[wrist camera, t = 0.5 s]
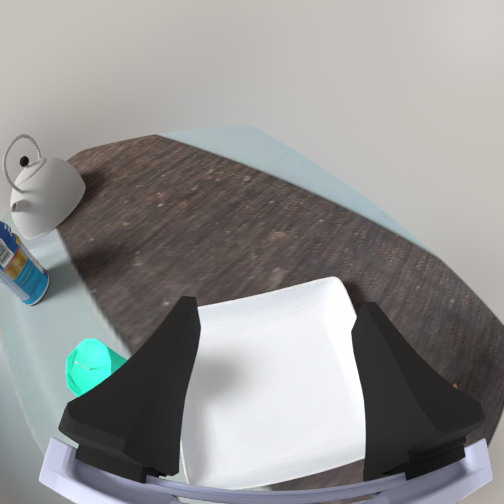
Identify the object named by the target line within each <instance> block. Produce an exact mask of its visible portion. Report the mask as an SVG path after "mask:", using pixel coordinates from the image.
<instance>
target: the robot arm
mask: <svg viewBox="0 0 504 504" xmlns="http://www.w3.org/2000/svg"><path fill="white" fill-rule="evenodd" d="M200 333H201V324H200V318H199V313H198V307H197V301H196V297H189V296H182V297H180V299H179V300H178V301H177V303H176V304H175V306H174V307H173V308H172V310H171V311H170V312H169V314H168V315H167V316H166V318H165V319H164V320H163V322H162V323H161V324H160V325H159V327H158V328H157V329H156V330H155V332H154V333H153V334H152V335H151V336H150V337H149V338H148V340H147V341H146V342H145V343H144V344H143V345H142V346H141V347H140V348H139V350H138V351H137V352H136V353H135V354H134V355H133V356H132V357H131V358H130V359H128V360H127V361H126V362H125V363H124V364H123V365H122V366H121V367H120V368H118V369H117V370H116V371H115V372H114V373H113V374H111V375H110V376H109V377H108V378H106V379H105V380H103V381H102V382H101V383H99V384H98V385H96V386H95V387H94V388H92V389H91V390H89V391H88V392H86V393H84V394H82V395H81V396H79V397H77V398H76V399H74V400H72V401H70V402H68V404H67V406H66V408H65V410H64V413H63V416H62V419H61V421H60V424H59V427H58V429H59V431H60V432H61V433H63V434H64V435H66V436H67V437H69V438H70V439H72V440H73V441H75V442H76V443H78V444H79V446H78V449H76V448H74V447H73V446H70V445H68V444H66V443H64V442H62V441H60V440H58V439H56V438H54V437H51V439H50V442H49V446H48V449H47V452H46V455H45V459H44V462H43V466H42V469H41V473H40V477H39V481H40V482H41V483H43V484H44V485H46V486H47V487H49V488H51V489H52V490H54V491H56V492H57V493H59V494H61V495H62V496H64V497H66V498H68V499H69V500H71V501H73V502H75V503H76V504H189V503H183V502H181V501H180V500H179V498H178V497H176V496H179V497H184V498H190V499H196V500H203V501H210V502H218V503H228V504H311V503H321V502H329V501H337V500H343V499H349V498H355V497H360V496H365V495H369V494H374V493H376V494H374V496H373V497H372V498H371V499H369V500H364V501H359V502H354V503H349V504H455V503H457V502H458V501H460V500H462V499H463V498H465V497H466V496H468V495H469V494H471V493H473V492H474V491H476V490H477V489H479V488H480V487H482V486H484V485H485V484H487V483H488V482H490V481H491V480H492V479H493V474H492V467H491V462H490V457H489V452H488V448H487V443H486V439H485V438H483V439H481V440H479V441H478V442H476V443H474V444H471V445H469V446H468V447H466V448H464V446H463V444H464V443H466V437H465V436H466V435H467V434H469V433H470V432H472V431H473V430H474V429H476V428H477V427H479V426H480V425H481V424H482V423H483V422H484V421H485V416H484V413H483V410H482V407H481V404H480V403H479V402H477V401H476V400H474V399H472V398H471V397H469V396H467V395H466V394H464V393H463V392H461V391H460V390H458V389H457V388H455V387H454V386H453V385H451V384H450V383H449V382H447V381H446V380H445V379H444V378H443V377H441V376H440V375H439V374H438V373H437V372H436V371H435V370H433V369H432V368H431V367H430V366H429V365H428V364H427V363H426V362H425V361H424V360H423V359H422V358H421V357H420V356H419V355H418V354H417V352H416V351H415V350H414V349H413V348H412V347H411V346H410V345H409V343H408V342H407V341H406V340H405V339H404V337H403V336H402V335H401V334H400V333H399V331H398V330H397V329H396V328H395V326H394V325H393V324H392V323H391V321H390V320H389V319H388V317H387V316H386V315H385V314H384V312H383V311H382V310H381V309H380V307H379V306H378V305H377V304H376V302H363V303H362V305H361V308H360V310H359V313H358V316H357V318H356V321H355V323H354V325H353V328H352V330H351V338H352V347H353V353H354V358H355V362H356V366H357V371H358V375H359V379H360V384H361V388H362V393H363V399H364V410H365V429H366V443H365V462H364V471H363V480H364V482H362V483H357V484H351V485H345V486H338V487H331V488H322V489H311V490H297V491H246V490H231V489H220V488H212V487H204V486H197V485H191V484H185V483H180V482H175V481H170V480H165V479H161V478H159V476H163V477H166V476H167V475H169V476H174V475H176V474H177V473H178V472H179V456H180V441H181V430H182V420H183V412H184V405H185V398H186V393H187V389H188V385H189V381H190V378H191V374H192V370H193V366H194V363H195V359H196V355H197V351H198V347H199V340H200Z"/></svg>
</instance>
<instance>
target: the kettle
mask: <svg viewBox="0 0 504 504" xmlns="http://www.w3.org/2000/svg"><path fill="white" fill-rule="evenodd" d="M22 137H25V138H28V139H29V140H30V141H31V142H32V143H33V144H34V146H35V148H36V150H37V153H38V160H36V161H34V162H33V163H31V164H30V165H28V163H29V159H28V158H27V157H26V156H23V157H22V158H21V159H20V165H21V166H23V167H25V169H24V170H23V171H22V172H21V173H20V175H19V176H18V178H17V180H16V182H15V184H13V183H12V182H11V180H10V178H9V176H8V174H7V170H6V157H7V154H8V152H9V149H10V148H11V146H12V145H13V144H14V143H15V142H16V141H17V140H18V139H19V138H22ZM3 171H4V175H5V177H6V179H7V181H8V183H9V184H10V186H11V187H12V188H13V191H12V195H11V212H12V216H13V220H14V222H15V224H16V226H17V228H18V229H19V231H20V232H21V233H22V235H23V237H24V238H25V239H27V240H34V239H37V238H40V237H42V236H44V235H45V234H47V233H49V232H50V231H51V230H53V229H54V228H55V227H57V226H58V225H59V224H60V223H61V222H62V221H64V220H65V219H66V218H67V217H68V216H69V214H70V213H71V212H72V211H73V210H74V209H75V207H76V206H77V205H78V203H79V202H80V200H81V199H82V197H83V195H84V192H85V188H86V186H85V183H84V181H83V180H82V178H81V176H80V175H79V173H78V172H77V170H76V169H75V168H74V167H73V166H72V165H70V164H69V163H68V162H66V161H64V160H61V159H58V158H42V159H41V154H40V150H39V148H38V145H37V144H36V142H35V141H34V139H33V138H31V137H30V136H29V135H25V134H23V135H19V136H18V137H16V138H15V139H14V140H13V141H12V142H11V143H10V145H9V146H8V148H7V150H6V151H5V155H4V157H3Z"/></svg>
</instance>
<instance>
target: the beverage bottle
mask: <svg viewBox="0 0 504 504" xmlns="http://www.w3.org/2000/svg"><path fill="white" fill-rule="evenodd" d="M0 281H1V282H2V283H3V284H4V285H5V286H6V287H7V288H8V289H10V290H11V291H12V292H13V293H14V294H15V295H16V296H17V297H18V298H20V299H21V301H22V302H24V303H25V304H26V305H33V304H35V303H37V302H38V301H39V300H40V299H41V298H42V297H43V296H44V294H45V292H46V290H47V288H48V285H49V274H48V272H47V271H46V270H45V269H44V268H43V267H42V266H41V265H40V264H39V262H38V261H37V260H36V259H35V258H34V257H33V256H32V254H31V253H30V252H29V251H28V250H27V248H26V247H25V246H24V245H23V244H22V242H21V241H20V239H19V237H18V236H17V235H16V234H14V233H12V232H11V229H10V227H9V226H8V225H7V224H5V223H3V222H1V221H0Z"/></svg>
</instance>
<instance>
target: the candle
mask: <svg viewBox="0 0 504 504" xmlns="http://www.w3.org/2000/svg"><path fill="white" fill-rule="evenodd" d="M126 361H127V360H126V359H124V358H123V357H121V356H120V355H119V354H117V353H116V352H114V351H113V350H111V349H110V348H108V347H107V346H106V345H104V344H103V343H101V342H100V341H99V340H97V339H84V340H83V341H82V342H81V343H80V344H79V345H78V346H77V347H76V348H75V349H74V350H73V351H72V352H71V353H70V355H69V356H68V357H67V358H66V380H67V387H68V388H69V389H70V390H71V391H72V392H73V393H74V394H75V395H76V396H77V397H79V396H81V395H82V394H84V393H86V392H88V391H89V390H91V389H92V388H94V387H95V386H96V385H98V384H99V383H101V382H102V381H103V380H105V379H106V378H108V377H109V376H110V375H111V374H113V373H114V372H115V371H116V370H117V369H118V368H120V367H121V366H122V365H123V364H124V363H125V362H126Z"/></svg>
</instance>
